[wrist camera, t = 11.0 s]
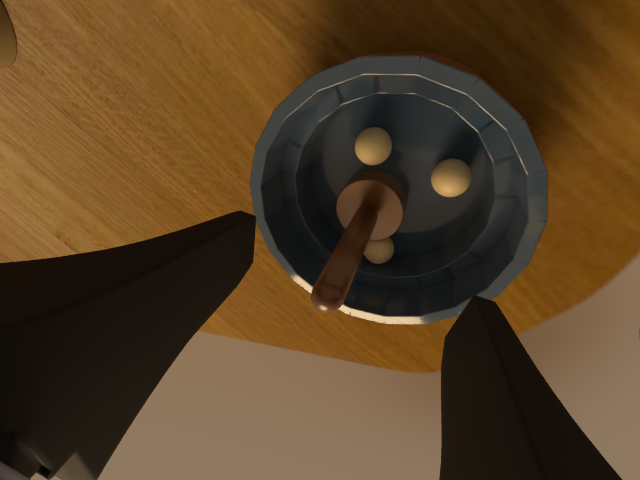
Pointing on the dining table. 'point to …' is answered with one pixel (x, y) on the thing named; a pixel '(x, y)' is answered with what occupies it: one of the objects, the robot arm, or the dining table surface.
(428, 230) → the bowl
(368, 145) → the chickpea
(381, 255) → the chickpea
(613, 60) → the dining table surface
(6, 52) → the brown game pawn
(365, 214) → the wooden pestle
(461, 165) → the chickpea
